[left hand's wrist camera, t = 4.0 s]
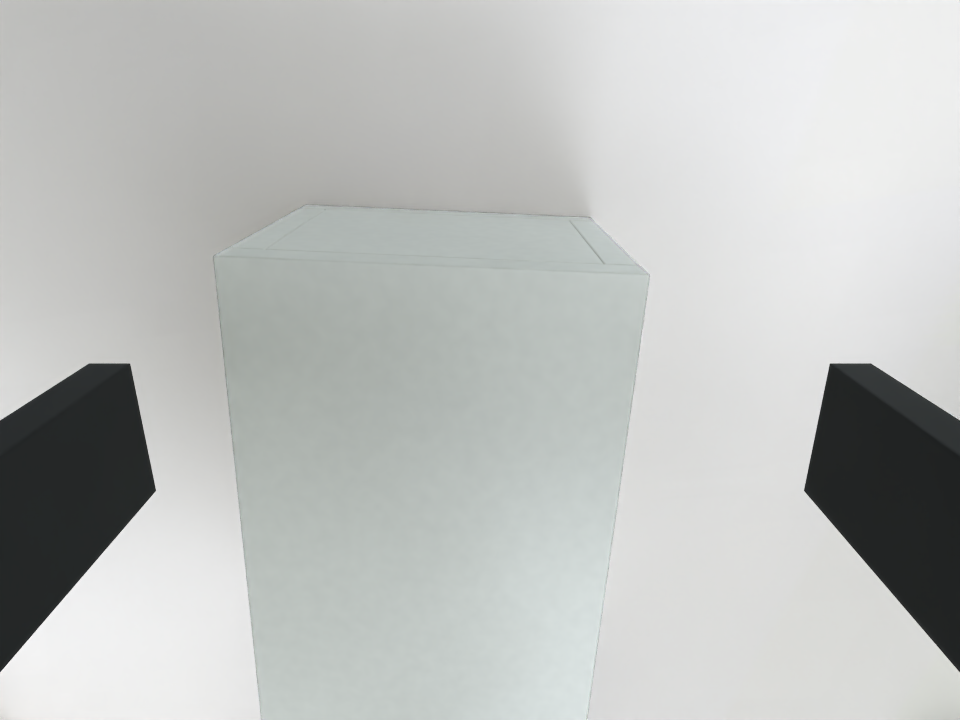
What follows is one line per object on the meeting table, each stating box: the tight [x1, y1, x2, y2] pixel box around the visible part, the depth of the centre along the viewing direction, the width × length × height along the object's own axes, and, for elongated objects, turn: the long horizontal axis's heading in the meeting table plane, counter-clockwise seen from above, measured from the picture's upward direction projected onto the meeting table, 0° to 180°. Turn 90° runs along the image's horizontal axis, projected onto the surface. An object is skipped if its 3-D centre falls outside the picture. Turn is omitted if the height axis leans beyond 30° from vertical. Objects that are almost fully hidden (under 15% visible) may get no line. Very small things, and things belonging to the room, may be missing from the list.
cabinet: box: [213, 205, 650, 720], centre depth 25 cm, size 22×12×10 cm, turn 177°
